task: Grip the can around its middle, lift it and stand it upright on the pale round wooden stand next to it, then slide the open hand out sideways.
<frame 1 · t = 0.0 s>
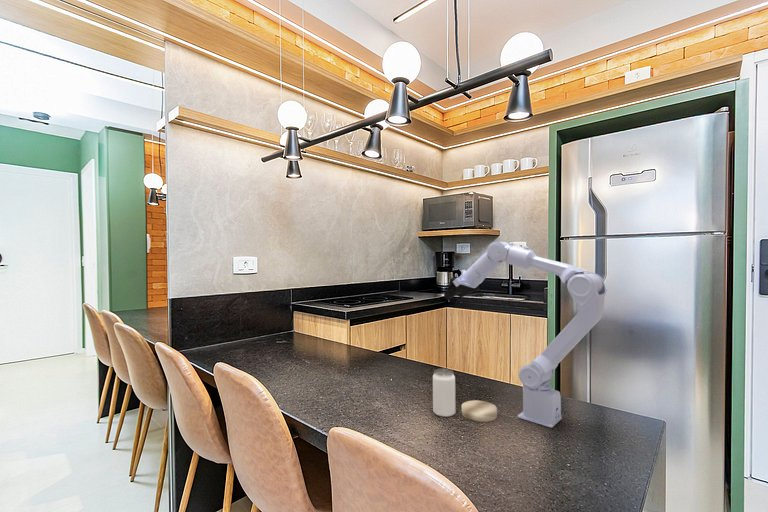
hand: (452, 296, 122), 32 cm above the counter, tool tilted 50°, fingers open, 7 cm apart
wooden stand: (479, 414, 105), on the counter
can: (444, 413, 107), on the counter
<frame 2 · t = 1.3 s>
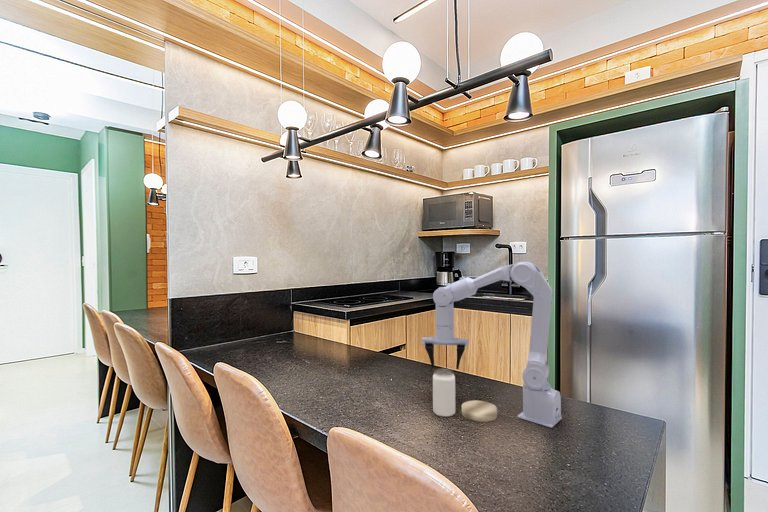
hand: (445, 367, 115), 10 cm above the counter, tool pointing down, fingers open, 7 cm apart
nothing on the counter moved.
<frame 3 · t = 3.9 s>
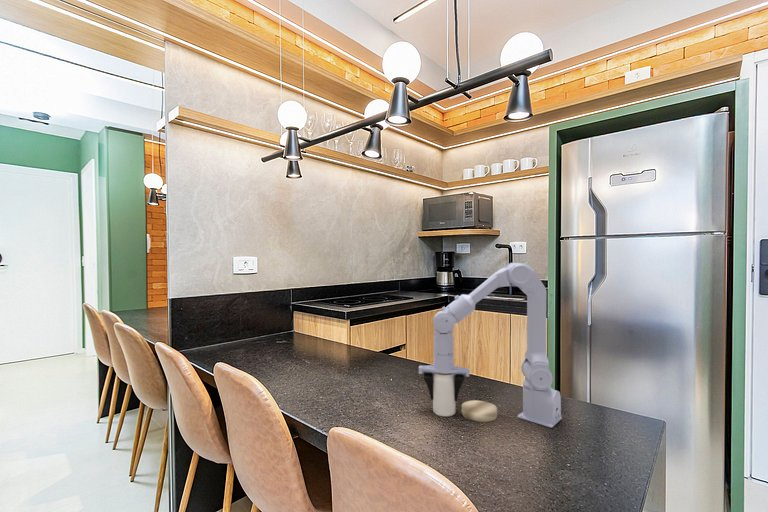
hand: (444, 399, 107), 4 cm above the counter, tool pointing down, fingers closed on can, 6 cm apart
can: (444, 413, 107), on the counter, touching gripper
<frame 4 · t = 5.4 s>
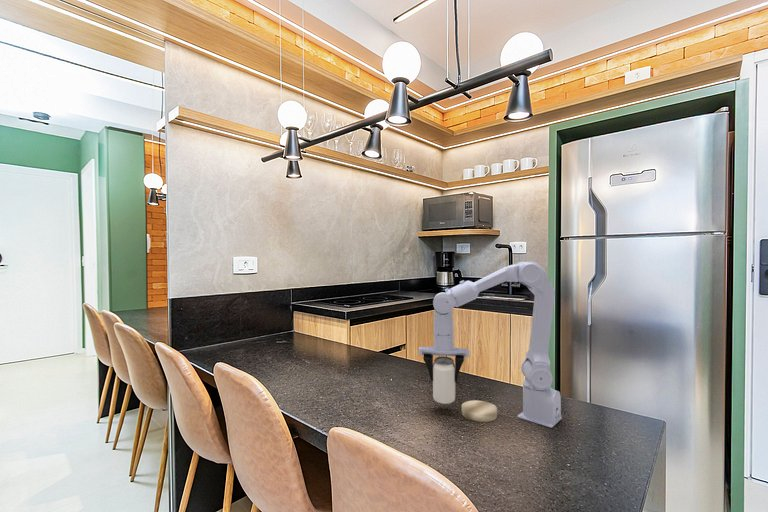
hand: (444, 380, 107), 9 cm above the counter, tool pointing down, fingers closed on can, 6 cm apart
can: (444, 399, 108), point 3 cm above the counter, touching gripper
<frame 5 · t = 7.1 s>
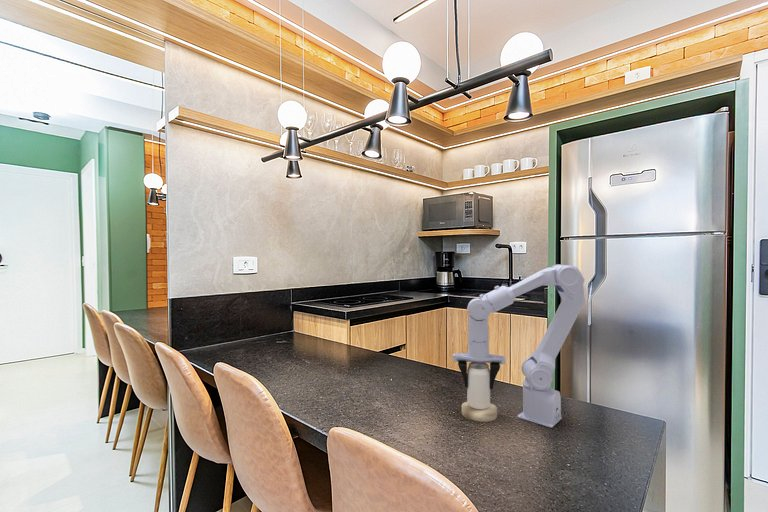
hand: (478, 387, 105), 8 cm above the counter, tool pointing down, fingers closed on can, 6 cm apart
can: (478, 405, 106), point 2 cm above the counter, touching gripper, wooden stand
when the fingers open (7 cm above the counter, at t = 7.9 s): can stays where it is, resting on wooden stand.
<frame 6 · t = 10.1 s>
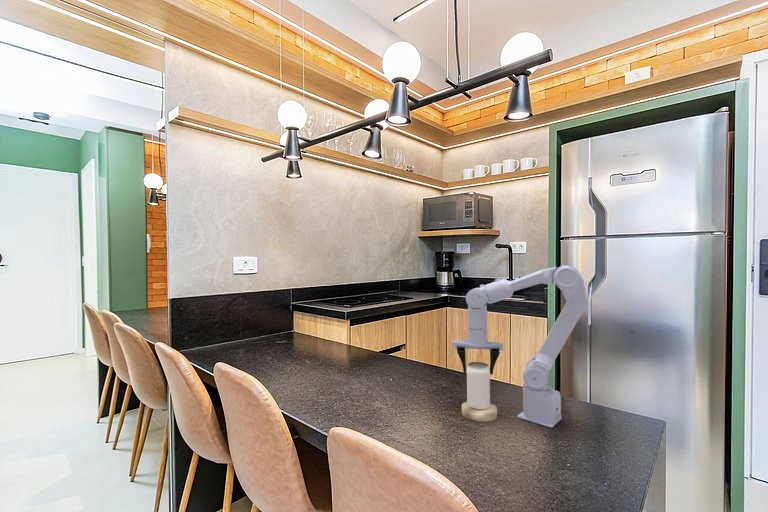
hand: (478, 372, 110), 10 cm above the counter, tool pointing down, fingers open, 7 cm apart
can: (478, 406, 106), point 2 cm above the counter, touching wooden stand
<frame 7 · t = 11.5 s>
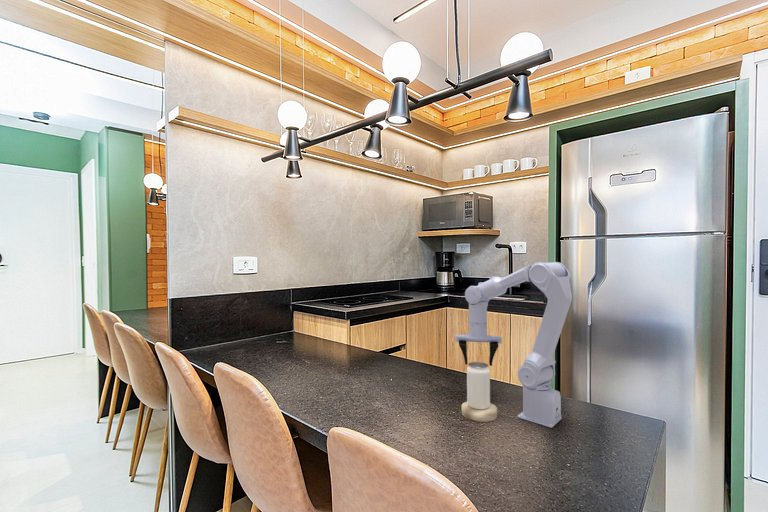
hand: (478, 364, 119), 10 cm above the counter, tool pointing down, fingers open, 7 cm apart
nothing on the counter moved.
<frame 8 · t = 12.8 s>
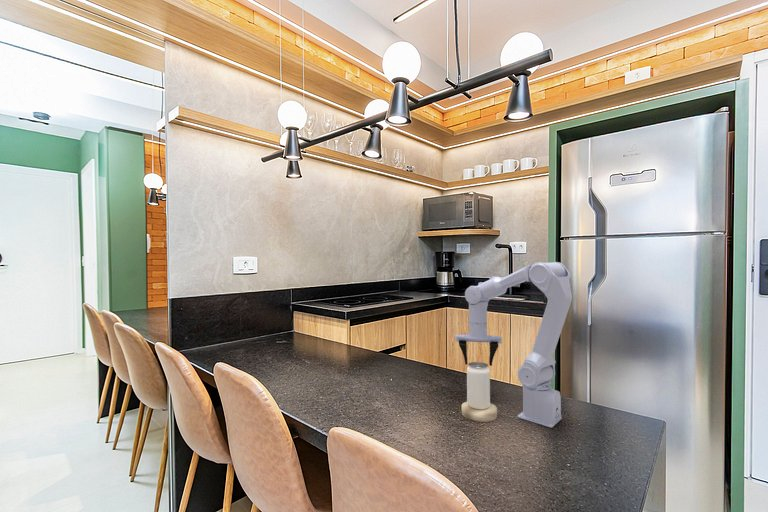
hand: (478, 364, 119), 10 cm above the counter, tool pointing down, fingers open, 7 cm apart
nothing on the counter moved.
at the end: can 1.0 cm off-centre on the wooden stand, point 1.8 cm above the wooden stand's base; can tilted 0°; the gripper is holding nothing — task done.
